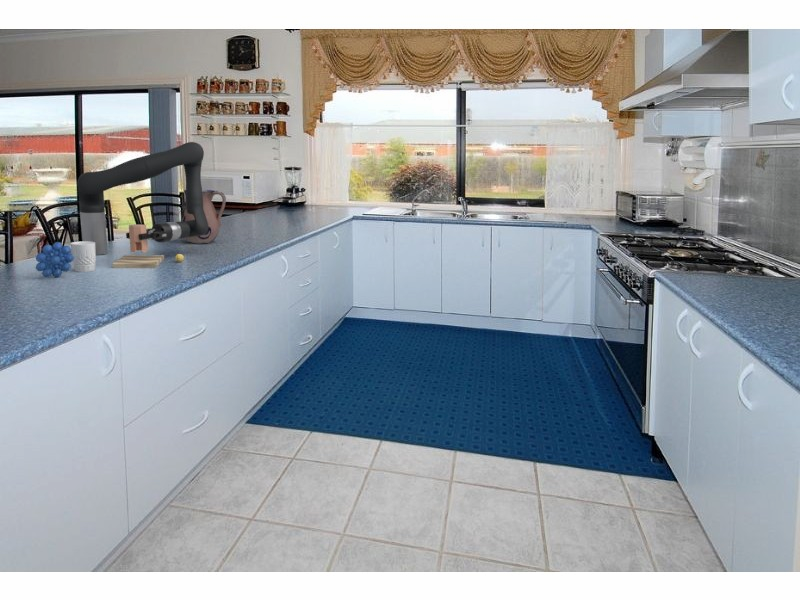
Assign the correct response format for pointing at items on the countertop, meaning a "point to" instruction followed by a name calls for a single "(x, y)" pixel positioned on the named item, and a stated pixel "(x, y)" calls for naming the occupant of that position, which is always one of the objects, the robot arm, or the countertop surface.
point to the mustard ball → (179, 257)
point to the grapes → (54, 260)
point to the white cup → (84, 256)
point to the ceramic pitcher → (210, 214)
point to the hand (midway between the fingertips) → (133, 236)
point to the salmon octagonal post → (137, 238)
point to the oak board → (138, 261)
